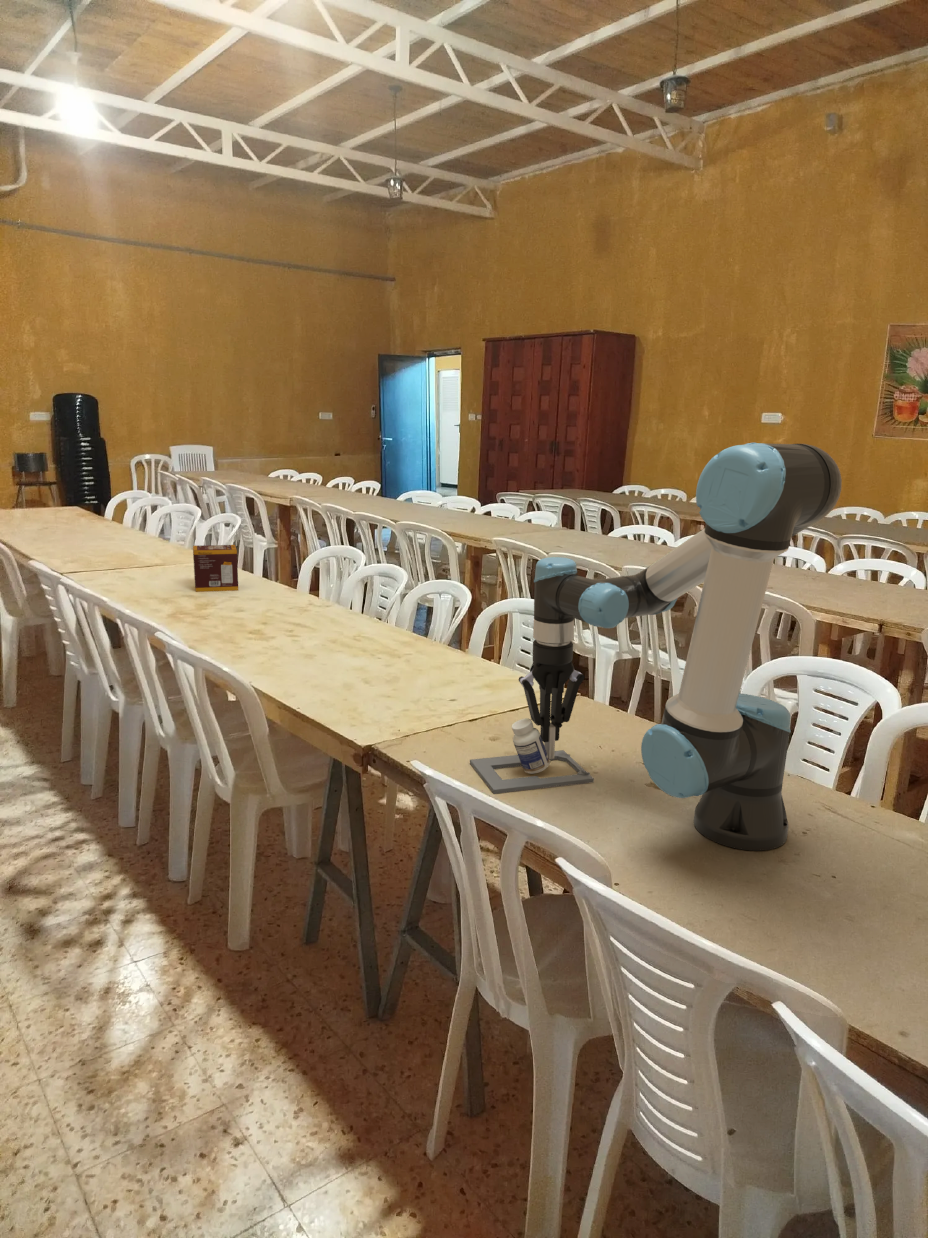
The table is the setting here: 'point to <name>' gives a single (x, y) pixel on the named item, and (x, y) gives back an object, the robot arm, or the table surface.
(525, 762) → the pill bottle
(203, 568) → the supplement box
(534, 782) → the keyhole board
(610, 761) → the table surface
